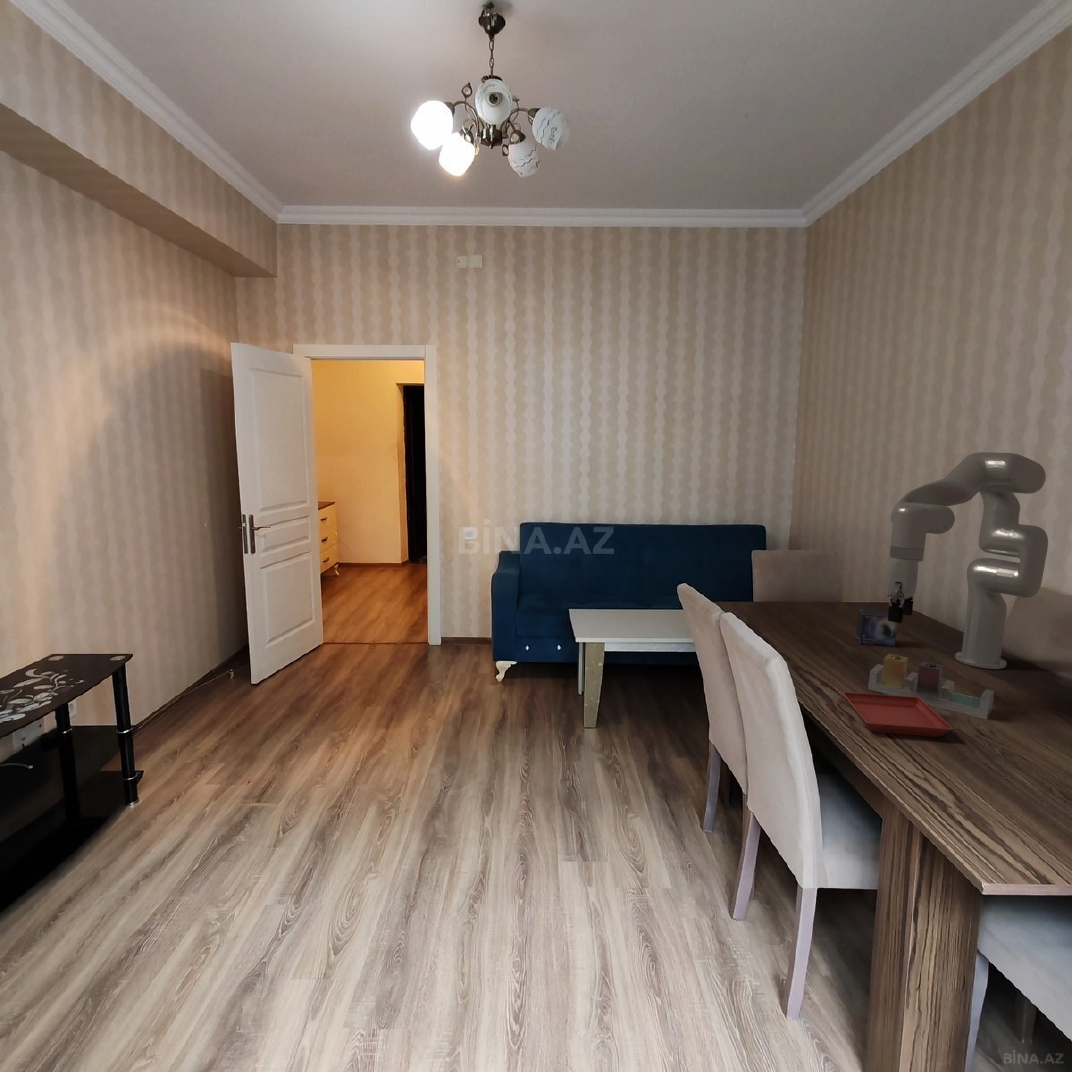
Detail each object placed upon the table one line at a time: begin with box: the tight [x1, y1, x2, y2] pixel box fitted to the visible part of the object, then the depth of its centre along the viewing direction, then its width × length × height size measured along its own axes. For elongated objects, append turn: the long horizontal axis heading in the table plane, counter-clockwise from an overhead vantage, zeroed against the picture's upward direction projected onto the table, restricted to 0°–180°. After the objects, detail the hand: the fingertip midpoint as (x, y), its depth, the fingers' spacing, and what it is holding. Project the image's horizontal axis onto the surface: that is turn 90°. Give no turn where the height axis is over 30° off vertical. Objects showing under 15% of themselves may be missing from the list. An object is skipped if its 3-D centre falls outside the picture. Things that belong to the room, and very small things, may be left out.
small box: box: [854, 608, 898, 648], centre depth 201 cm, size 11×6×10 cm, turn 76°
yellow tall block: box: [882, 653, 909, 688], centre depth 163 cm, size 4×4×7 cm
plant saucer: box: [842, 691, 954, 738], centre depth 146 cm, size 18×18×3 cm
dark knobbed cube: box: [916, 660, 944, 696], centre depth 158 cm, size 4×4×7 cm
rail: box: [867, 663, 995, 720], centre depth 158 cm, size 8×26×5 cm, turn 46°
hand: (899, 618), depth 161 cm, fingers open, 9 cm apart
